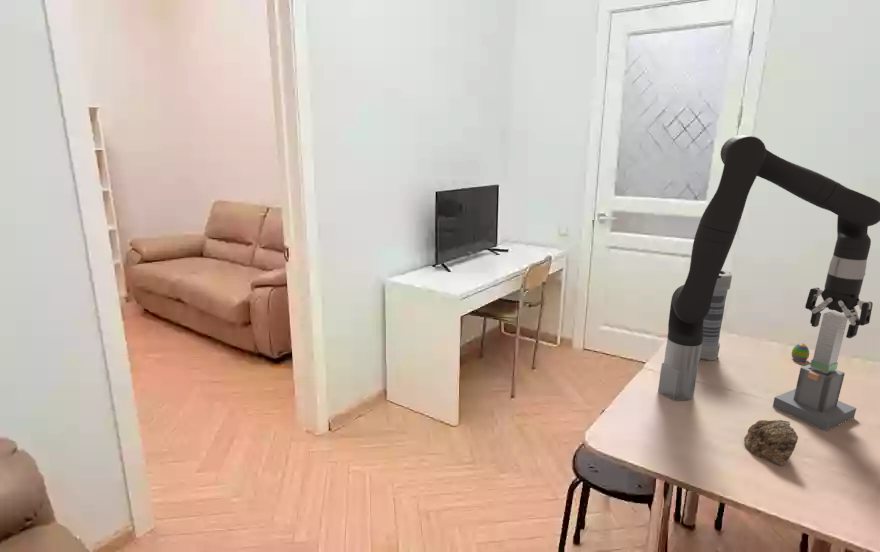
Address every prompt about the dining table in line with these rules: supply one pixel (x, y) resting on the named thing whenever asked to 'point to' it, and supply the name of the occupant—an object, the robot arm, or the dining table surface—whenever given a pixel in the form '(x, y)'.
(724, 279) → the canister
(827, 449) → the dining table surface
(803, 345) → the egg
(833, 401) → the stand
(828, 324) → the column
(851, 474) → the dining table surface
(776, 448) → the rock
